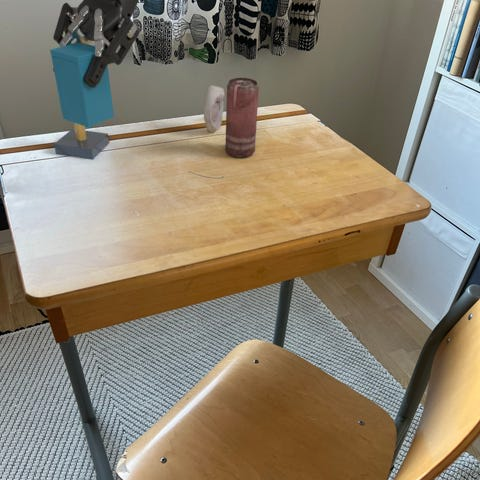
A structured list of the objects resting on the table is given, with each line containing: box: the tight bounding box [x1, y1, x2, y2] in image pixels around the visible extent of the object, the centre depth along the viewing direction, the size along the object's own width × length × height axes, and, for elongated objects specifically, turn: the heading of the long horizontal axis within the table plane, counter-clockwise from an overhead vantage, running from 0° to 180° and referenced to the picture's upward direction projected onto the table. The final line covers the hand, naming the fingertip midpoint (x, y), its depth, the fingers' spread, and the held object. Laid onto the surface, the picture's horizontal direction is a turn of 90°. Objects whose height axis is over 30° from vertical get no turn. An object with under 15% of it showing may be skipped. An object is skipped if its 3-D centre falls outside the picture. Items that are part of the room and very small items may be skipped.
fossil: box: [203, 84, 226, 133], centre depth 110 cm, size 6×4×10 cm, turn 147°
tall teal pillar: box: [49, 41, 115, 129], centre depth 78 cm, size 6×6×10 cm
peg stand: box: [53, 122, 110, 160], centre depth 101 cm, size 8×8×10 cm
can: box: [224, 77, 260, 159], centre depth 101 cm, size 6×6×14 cm
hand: (73, 79), depth 76 cm, fingers closed on tall teal pillar, 5 cm apart
